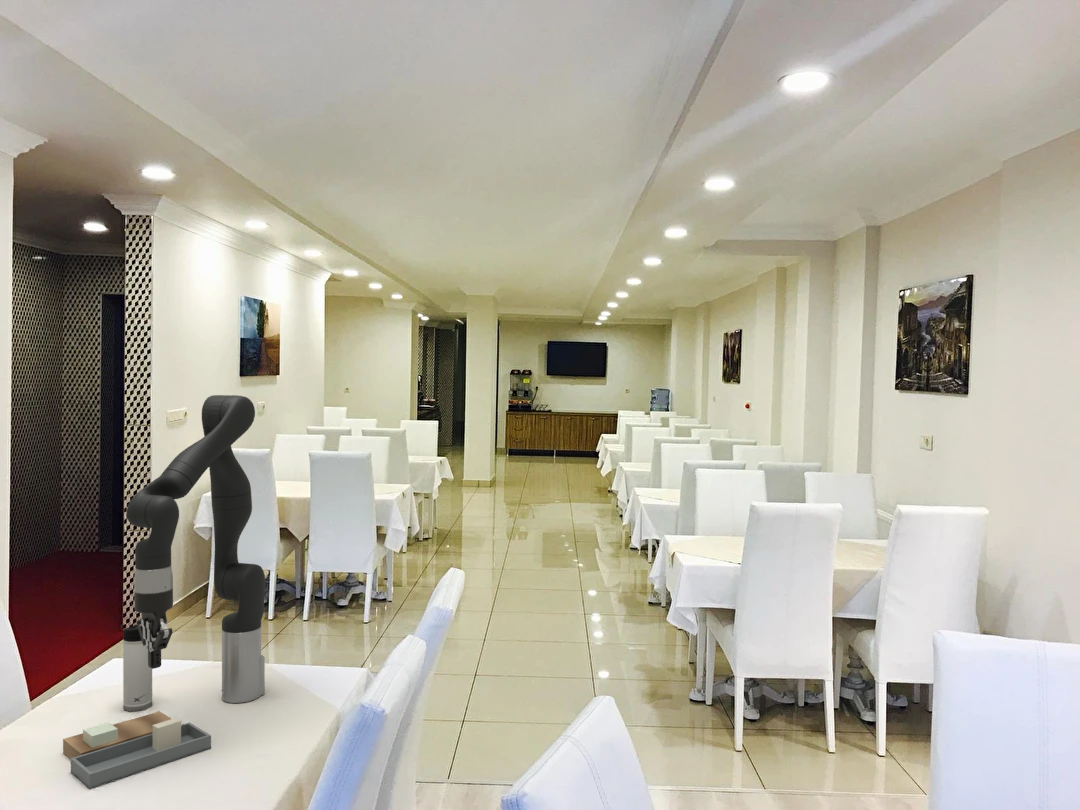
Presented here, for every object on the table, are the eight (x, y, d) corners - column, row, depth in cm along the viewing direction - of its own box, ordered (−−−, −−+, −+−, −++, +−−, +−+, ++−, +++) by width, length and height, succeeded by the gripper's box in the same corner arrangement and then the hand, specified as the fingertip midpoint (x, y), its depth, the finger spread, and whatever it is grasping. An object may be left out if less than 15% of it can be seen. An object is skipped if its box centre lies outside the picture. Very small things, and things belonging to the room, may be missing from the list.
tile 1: (108, 733, 174) (108, 722, 174) (117, 740, 171) (117, 728, 171) (83, 740, 170) (83, 729, 170) (92, 747, 167) (92, 736, 167)
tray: (189, 734, 181) (189, 722, 180) (211, 748, 174) (211, 735, 174) (70, 772, 163) (70, 758, 163) (89, 789, 156) (89, 774, 156)
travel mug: (141, 713, 192) (141, 628, 192) (117, 710, 194) (117, 627, 193) (159, 703, 198) (159, 621, 198) (135, 700, 200) (135, 619, 199)
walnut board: (159, 724, 186) (159, 711, 186) (179, 737, 179) (179, 723, 179) (63, 753, 171) (63, 739, 171) (80, 768, 164) (80, 753, 164)
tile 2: (175, 717, 176) (181, 720, 175) (175, 740, 177) (181, 743, 175) (152, 725, 173) (157, 728, 171) (152, 748, 173) (158, 751, 171)
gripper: (185, 589, 174) (185, 669, 174) (158, 579, 183) (158, 655, 183) (149, 596, 168) (150, 679, 169) (123, 585, 177) (124, 664, 178)
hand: (154, 667), depth 176 cm, fingers closed
